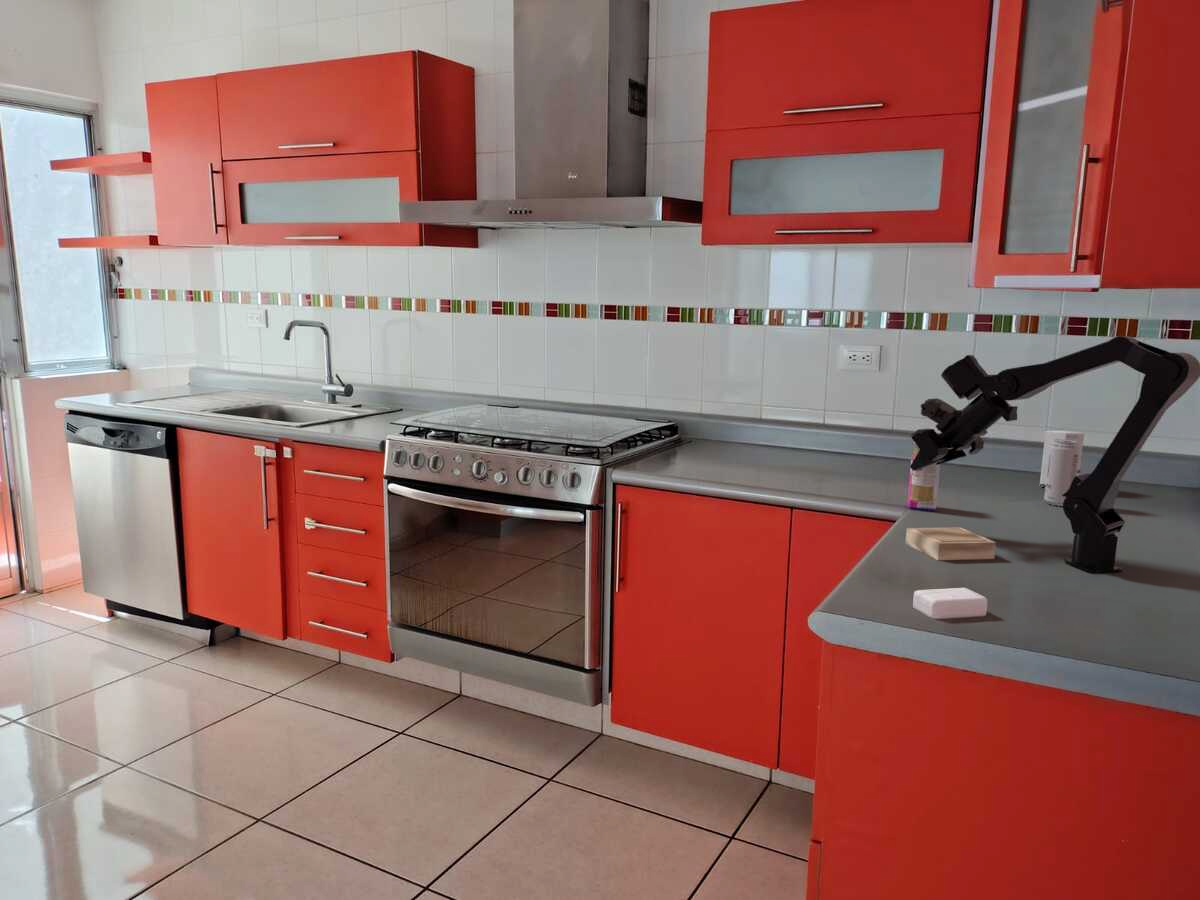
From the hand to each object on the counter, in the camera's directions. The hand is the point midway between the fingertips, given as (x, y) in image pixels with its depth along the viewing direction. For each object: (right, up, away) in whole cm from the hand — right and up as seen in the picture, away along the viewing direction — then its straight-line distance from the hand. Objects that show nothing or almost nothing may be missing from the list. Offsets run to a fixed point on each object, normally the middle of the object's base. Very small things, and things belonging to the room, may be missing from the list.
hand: (918, 467), depth 178 cm
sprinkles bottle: (+1, -7, 0) cm, 7 cm away
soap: (-13, -20, -49) cm, 55 cm away
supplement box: (+8, -10, +21) cm, 25 cm away
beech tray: (0, -15, -15) cm, 21 cm away
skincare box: (+54, -7, +50) cm, 74 cm away
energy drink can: (+43, -9, +30) cm, 54 cm away
